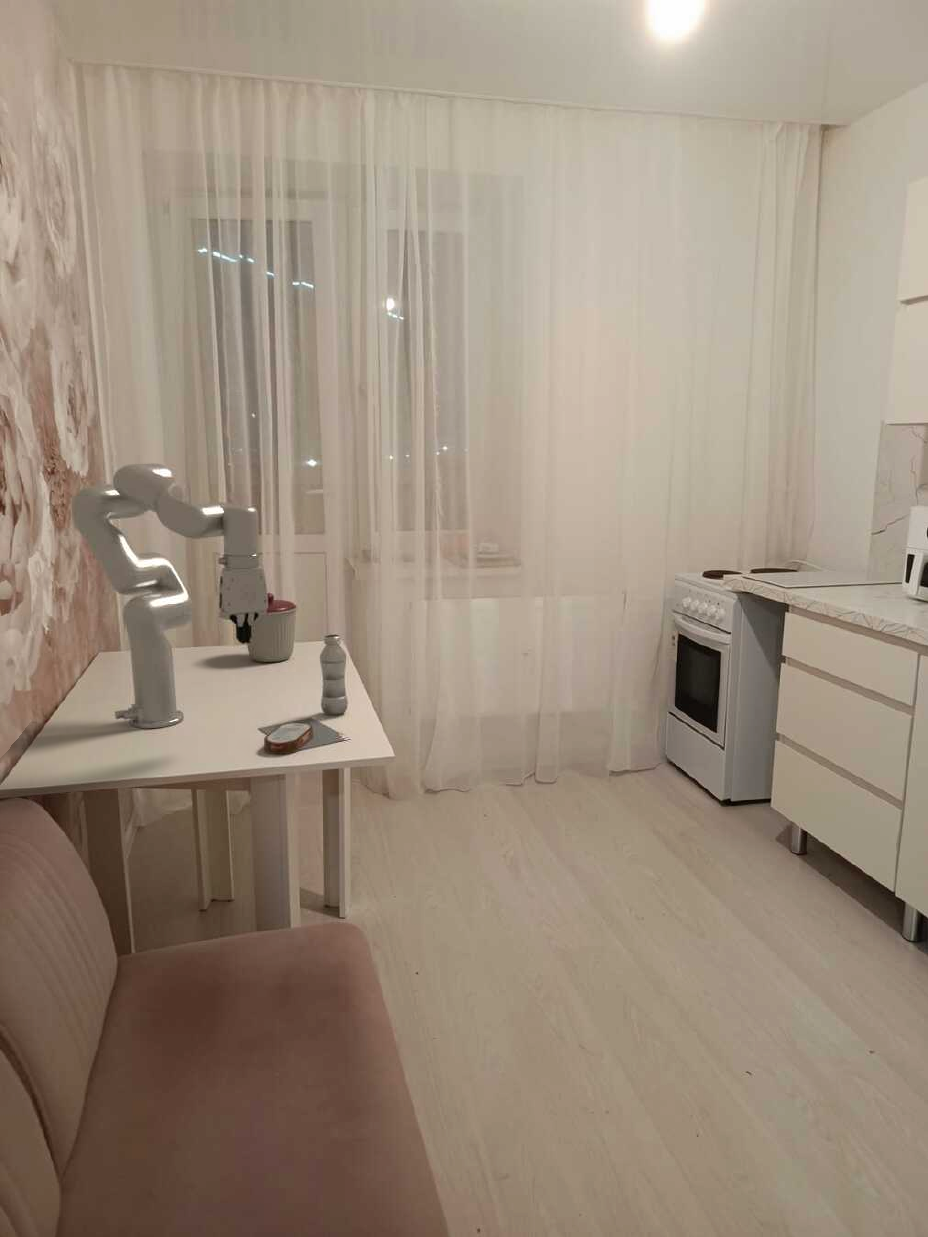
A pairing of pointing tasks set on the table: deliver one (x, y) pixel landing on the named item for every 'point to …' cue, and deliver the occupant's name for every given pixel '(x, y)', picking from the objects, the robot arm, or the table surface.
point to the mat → (320, 733)
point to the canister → (273, 632)
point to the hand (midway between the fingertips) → (244, 642)
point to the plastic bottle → (333, 676)
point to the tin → (288, 738)
